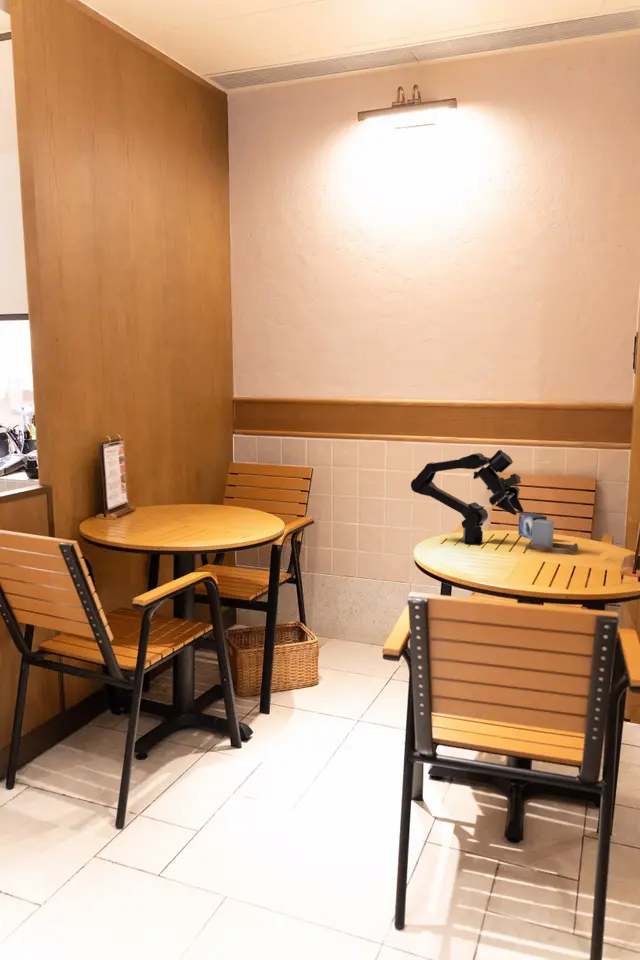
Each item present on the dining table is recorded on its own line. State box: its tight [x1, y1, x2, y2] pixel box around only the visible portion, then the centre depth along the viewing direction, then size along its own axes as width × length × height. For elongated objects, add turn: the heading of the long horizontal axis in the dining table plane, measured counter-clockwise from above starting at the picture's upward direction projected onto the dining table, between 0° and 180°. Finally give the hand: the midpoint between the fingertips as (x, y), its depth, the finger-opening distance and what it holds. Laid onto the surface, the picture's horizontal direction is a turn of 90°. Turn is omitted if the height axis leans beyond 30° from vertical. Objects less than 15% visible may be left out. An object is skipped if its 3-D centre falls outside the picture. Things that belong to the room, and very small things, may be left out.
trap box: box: [524, 542, 579, 556], centre depth 281 cm, size 16×10×4 cm, turn 57°
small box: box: [518, 511, 548, 540], centre depth 304 cm, size 11×6×10 cm, turn 17°
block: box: [530, 519, 555, 547], centre depth 282 cm, size 6×6×10 cm
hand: (519, 513), depth 286 cm, fingers open, 7 cm apart
